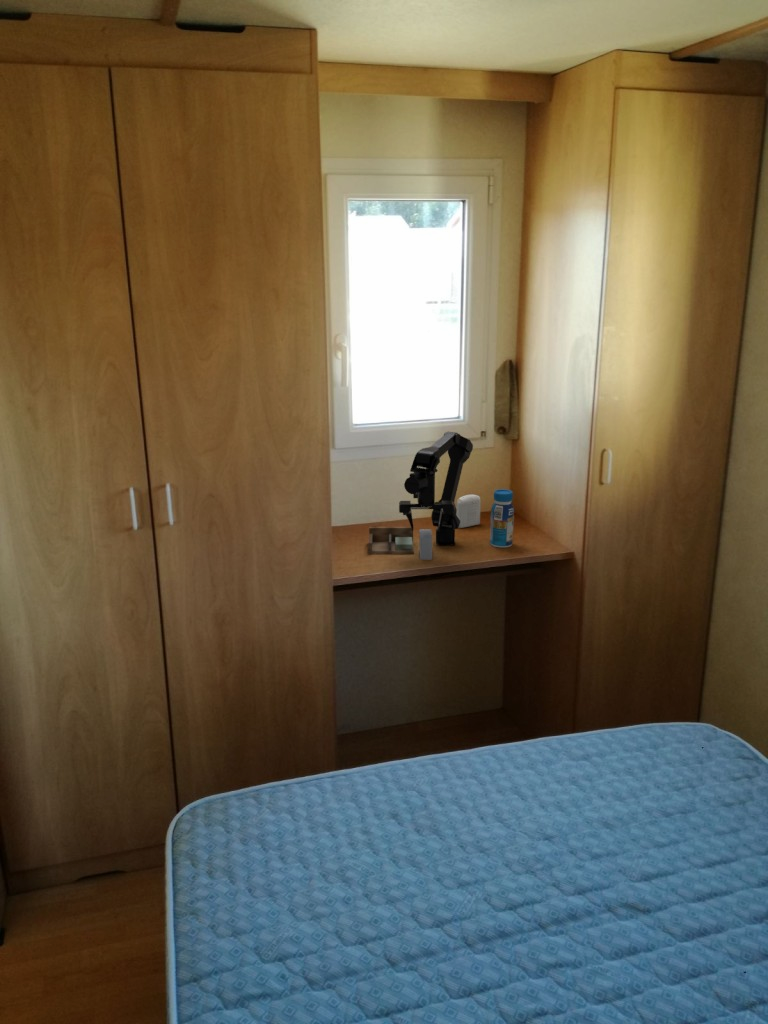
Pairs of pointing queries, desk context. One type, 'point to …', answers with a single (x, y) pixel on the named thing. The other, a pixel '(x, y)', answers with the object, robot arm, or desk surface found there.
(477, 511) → the photo printer
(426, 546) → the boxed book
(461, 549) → the desk surface
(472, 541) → the desk surface
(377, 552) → the book rack
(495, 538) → the beverage bottle
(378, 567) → the desk surface
